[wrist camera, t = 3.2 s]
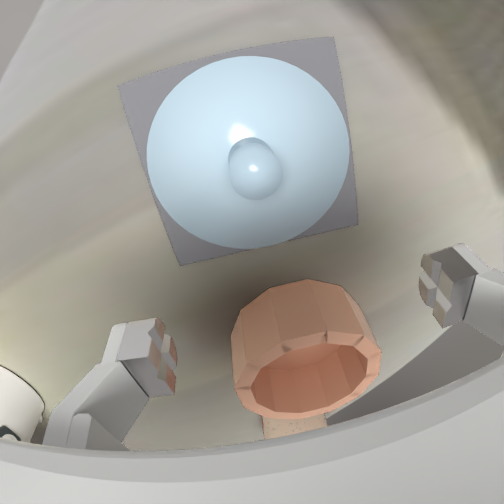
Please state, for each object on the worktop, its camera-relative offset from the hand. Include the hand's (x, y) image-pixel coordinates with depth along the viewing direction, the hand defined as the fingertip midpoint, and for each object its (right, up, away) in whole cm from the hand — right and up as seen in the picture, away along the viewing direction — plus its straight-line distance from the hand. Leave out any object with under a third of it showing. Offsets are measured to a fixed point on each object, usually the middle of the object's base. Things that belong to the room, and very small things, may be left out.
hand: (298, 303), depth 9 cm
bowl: (+4, -7, +25) cm, 26 cm away
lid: (-2, +9, +14) cm, 17 cm away
